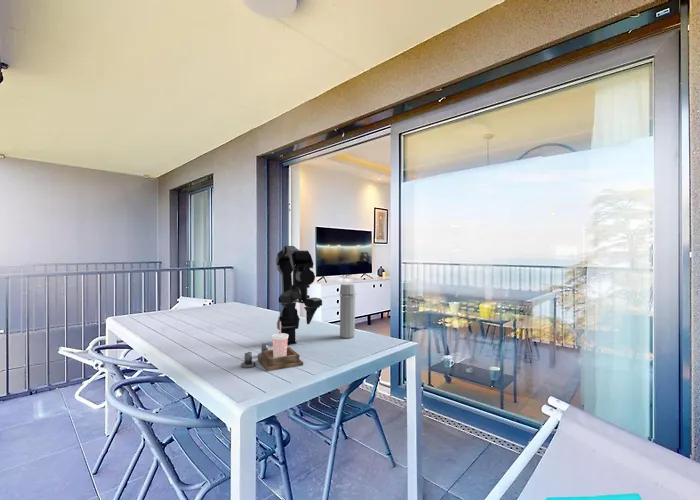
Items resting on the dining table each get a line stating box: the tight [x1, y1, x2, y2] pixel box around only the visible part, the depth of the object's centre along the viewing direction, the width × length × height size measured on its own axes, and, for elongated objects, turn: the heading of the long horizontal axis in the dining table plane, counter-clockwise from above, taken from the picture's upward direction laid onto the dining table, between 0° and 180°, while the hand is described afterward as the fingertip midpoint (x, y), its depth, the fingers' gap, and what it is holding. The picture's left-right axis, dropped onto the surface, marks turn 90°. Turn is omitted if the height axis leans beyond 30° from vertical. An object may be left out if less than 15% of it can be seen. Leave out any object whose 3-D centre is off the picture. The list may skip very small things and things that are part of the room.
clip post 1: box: [240, 351, 256, 369], centre depth 120 cm, size 5×5×4 cm
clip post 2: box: [257, 343, 269, 358], centre depth 131 cm, size 5×5×4 cm
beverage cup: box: [271, 321, 289, 358], centre depth 123 cm, size 6×6×14 cm
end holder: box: [257, 346, 304, 372], centre depth 123 cm, size 13×13×4 cm
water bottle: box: [338, 283, 357, 339], centre depth 160 cm, size 9×8×25 cm
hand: (299, 322), depth 131 cm, fingers open, 9 cm apart
